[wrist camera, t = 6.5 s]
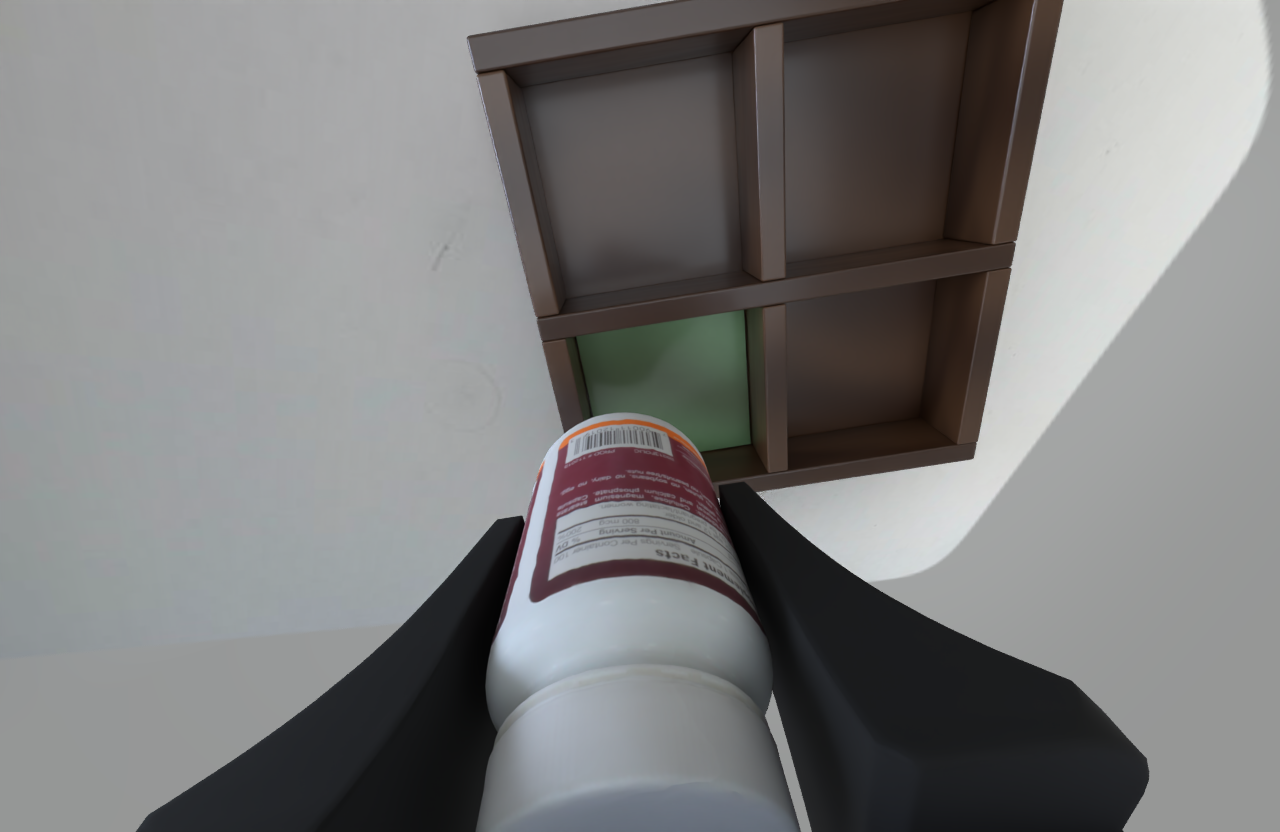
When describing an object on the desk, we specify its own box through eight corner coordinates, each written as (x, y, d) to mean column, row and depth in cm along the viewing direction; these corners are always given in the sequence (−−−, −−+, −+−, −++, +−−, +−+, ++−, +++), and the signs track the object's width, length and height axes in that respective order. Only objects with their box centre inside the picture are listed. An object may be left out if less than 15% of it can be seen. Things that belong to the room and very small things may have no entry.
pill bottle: (637, 573, 15) (663, 985, 7) (505, 498, 13) (357, 916, 6) (743, 469, 13) (920, 849, 6) (607, 371, 12) (596, 706, 4)
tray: (928, 425, 21) (974, 459, 18) (589, 477, 21) (585, 519, 18) (990, -21, 14) (1079, -71, 11) (492, 64, 14) (464, 34, 12)
